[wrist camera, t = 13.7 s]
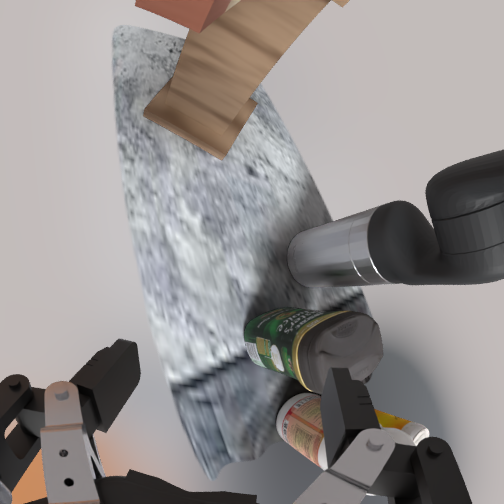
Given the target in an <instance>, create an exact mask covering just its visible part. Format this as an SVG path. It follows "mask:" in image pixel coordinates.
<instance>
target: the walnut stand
mask: <svg viewBox="0 0 504 504" xmlns="http://www.w3.org/2000/svg"><path fill="white" fill-rule="evenodd" d="M330 1H331V0H241V1H239V2H238V3H237V4H235V5H234V6H233V7H231V8H230V9H229V10H227V11H226V12H225V13H224V14H222V15H221V16H220V17H219V18H217V19H216V20H215V21H214V22H212V23H211V24H210V25H209V26H208V27H206V28H205V29H204V30H203V31H202V32H201V33H197V32H195V31H193V30H191V29H189V32H188V35H187V37H186V40H185V43H184V46H183V48H182V51H181V54H180V57H179V60H178V63H177V66H176V69H175V72H174V75H173V77H172V78H171V79H170V80H169V81H168V82H167V84H166V85H165V86H164V87H163V88H162V89H161V90H160V91H159V93H158V94H157V95H156V96H155V97H154V98H153V100H152V101H151V102H150V103H149V104H148V105H147V107H146V108H145V109H144V115H143V116H144V117H146V118H148V119H149V120H151V121H153V122H155V123H157V124H159V125H161V126H162V127H164V128H166V129H168V130H170V131H171V132H173V133H175V134H177V135H179V136H180V137H182V138H184V139H186V140H187V141H189V142H191V143H193V144H194V145H196V146H198V147H200V148H201V149H203V150H205V151H206V152H208V153H210V154H212V155H213V156H215V157H217V158H218V159H220V160H223V158H224V157H225V156H226V154H227V153H228V151H229V149H230V148H231V146H232V144H233V143H234V141H235V139H236V138H237V136H238V134H239V133H240V131H241V129H242V128H243V126H244V125H245V123H246V121H247V120H248V118H249V116H250V115H251V113H252V112H253V110H254V109H255V107H256V105H257V104H258V103H257V102H255V101H254V100H252V99H250V96H251V95H252V94H253V92H254V91H255V90H256V88H257V87H258V86H259V84H260V83H261V82H262V80H263V79H264V78H265V77H266V75H267V74H268V73H269V71H270V70H271V69H272V68H273V66H274V65H275V64H276V63H277V61H278V60H279V59H280V57H281V56H282V55H283V54H284V53H285V52H286V50H287V49H288V48H289V47H290V46H291V44H292V43H293V42H294V41H295V40H296V38H297V37H298V36H299V35H300V34H301V33H302V31H303V30H304V29H305V28H306V27H307V26H308V25H309V23H310V22H311V21H312V20H313V19H314V18H315V17H316V16H317V14H318V13H319V12H320V11H321V10H322V9H323V8H324V7H325V6H326V5H327V4H328V3H329V2H330ZM333 1H334V2H335V3H337V4H338V5H340V6H341V7H343V6H344V5H345V4H346V3H347V2H348V1H349V0H333Z"/></svg>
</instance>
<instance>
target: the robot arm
mask: <svg viewBox="0 0 504 504" xmlns="http://www.w3.org/2000/svg"><path fill="white" fill-rule="evenodd" d="M426 200H427V205H428V209H429V213H430V217H431V218H432V223H433V227H434V229H433V227H432V226H431V225H430V223H429V222H428V221H427V219H426V218H425V216H424V215H423V214H422V212H421V211H420V210H419V209H418V208H417V207H416V206H414V205H413V204H411V203H409V202H406V201H394V202H390V203H387V204H384V205H381V206H378V207H375V208H372V209H369V210H366V211H363V212H360V213H357V214H354V215H351V216H348V217H345V218H342V219H339V220H336V221H333V222H330V223H327V224H324V225H321V226H317V227H314V228H311V229H308V230H305V231H302V232H300V233H299V234H297V235H296V236H295V237H294V238H293V240H292V241H291V243H290V245H289V248H288V253H287V262H288V267H289V269H290V272H291V274H292V276H293V277H294V278H295V280H296V281H297V282H299V283H300V284H301V285H303V286H306V287H310V288H321V287H346V286H365V285H381V284H399V283H403V284H407V285H469V284H483V283H490V282H494V281H498V280H501V279H504V150H501V151H497V152H493V153H490V154H486V155H483V156H479V157H476V158H472V159H469V160H465V161H463V162H460V163H457V164H454V165H452V166H450V167H447V168H446V169H444V170H442V171H440V172H438V173H437V174H436V175H434V176H433V177H432V179H431V180H430V181H429V182H428V184H427V187H426ZM140 374H141V372H140V364H139V357H138V348H137V344H136V343H135V342H132V341H128V340H123V339H118V340H117V341H116V342H115V343H114V344H113V345H112V346H111V347H110V348H109V347H106V348H104V349H102V350H100V351H98V352H97V353H96V354H95V355H94V356H93V357H92V358H91V360H89V361H88V362H87V363H86V365H84V366H83V367H82V368H81V369H80V370H79V371H78V372H77V373H76V374H75V376H74V377H73V378H72V379H71V380H70V381H69V382H67V381H59V382H55V383H52V384H51V385H50V386H48V387H47V388H46V389H41V388H34V387H31V385H30V382H29V380H28V378H27V377H25V376H24V375H20V374H16V375H10V376H8V377H6V378H5V379H4V380H3V381H2V382H1V383H0V504H11V503H12V495H11V493H12V491H13V489H14V488H15V486H16V485H17V483H18V482H19V480H20V478H21V477H22V476H23V474H24V473H25V471H26V470H27V468H28V467H29V465H30V463H31V462H32V461H33V459H34V458H35V456H36V455H37V453H38V452H39V450H40V449H41V450H42V461H43V469H44V478H45V484H46V491H47V497H45V498H42V499H39V500H36V501H32V502H28V503H25V504H258V503H256V499H257V495H249V494H240V493H232V492H225V491H220V492H188V491H185V490H183V489H181V488H179V487H176V486H174V485H172V484H170V483H168V482H166V481H164V480H162V479H160V478H157V477H154V476H150V475H146V474H143V473H140V472H137V471H134V470H131V469H130V470H129V472H128V474H127V476H109V477H106V476H105V473H104V470H103V467H102V464H101V460H100V457H99V453H98V450H97V446H96V442H95V438H94V435H93V433H94V432H95V430H96V429H97V430H100V431H102V432H105V433H106V432H107V431H108V429H109V428H110V426H111V425H112V423H113V421H114V420H115V418H116V417H117V415H118V414H119V412H120V411H121V409H122V408H123V406H124V405H125V403H126V402H127V400H128V398H129V397H130V395H131V394H132V392H133V391H134V389H135V388H136V386H137V385H138V383H139V380H140ZM320 411H321V418H322V426H323V433H324V441H325V449H326V457H327V466H328V469H326V470H325V471H324V472H323V473H322V474H321V475H320V476H319V477H318V478H317V479H316V480H315V481H314V482H313V484H311V486H310V487H309V488H308V489H307V490H306V491H305V492H304V493H303V494H302V495H301V496H300V497H299V498H298V499H297V500H296V501H295V502H293V504H360V502H361V500H363V498H364V497H365V495H366V494H373V495H380V496H387V497H388V503H389V504H472V502H471V499H470V496H469V493H468V491H467V488H466V485H465V482H464V480H463V477H462V475H461V472H460V470H459V467H458V465H457V462H456V460H455V457H454V455H453V452H452V450H451V448H450V446H449V445H448V443H447V442H446V441H444V440H442V439H440V438H437V437H427V438H424V439H422V440H421V441H420V442H419V443H418V445H417V446H411V445H404V444H398V443H395V441H394V439H393V437H392V436H391V435H390V434H389V433H387V432H386V431H384V430H381V427H380V424H379V421H378V418H377V415H376V413H375V410H374V407H373V405H372V401H371V399H370V396H369V393H368V390H367V388H366V386H365V385H364V384H363V383H362V382H361V381H360V380H352V378H351V375H350V372H349V369H348V368H334V367H330V368H329V370H328V373H327V377H326V380H325V384H324V388H323V392H322V395H321V401H320ZM14 419H16V421H17V422H18V424H17V425H16V427H15V428H14V429H13V430H12V431H11V433H10V434H9V435H8V436H7V438H6V439H5V436H4V434H5V430H6V428H7V427H8V426H9V425H10V423H11V422H12V421H13V420H14Z"/></svg>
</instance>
